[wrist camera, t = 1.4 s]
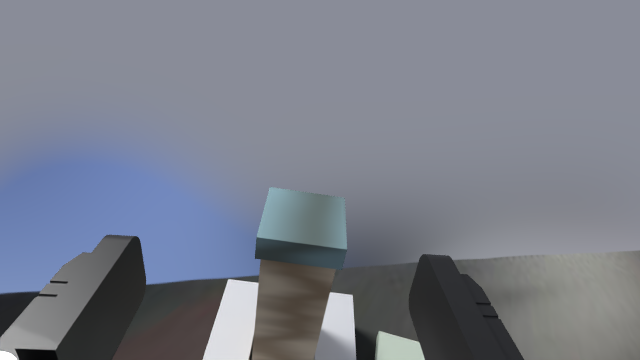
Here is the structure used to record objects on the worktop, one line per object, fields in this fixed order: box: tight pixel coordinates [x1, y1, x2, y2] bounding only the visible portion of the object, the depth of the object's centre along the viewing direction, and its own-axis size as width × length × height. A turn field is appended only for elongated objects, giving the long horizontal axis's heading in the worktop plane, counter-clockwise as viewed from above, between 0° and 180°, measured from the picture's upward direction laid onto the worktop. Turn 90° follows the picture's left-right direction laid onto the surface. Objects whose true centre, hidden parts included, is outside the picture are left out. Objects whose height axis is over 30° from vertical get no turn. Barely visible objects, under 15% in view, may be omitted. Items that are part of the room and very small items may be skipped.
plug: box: [252, 187, 347, 360], centre depth 27 cm, size 5×5×17 cm
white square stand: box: [203, 279, 356, 360], centre depth 30 cm, size 12×12×4 cm
